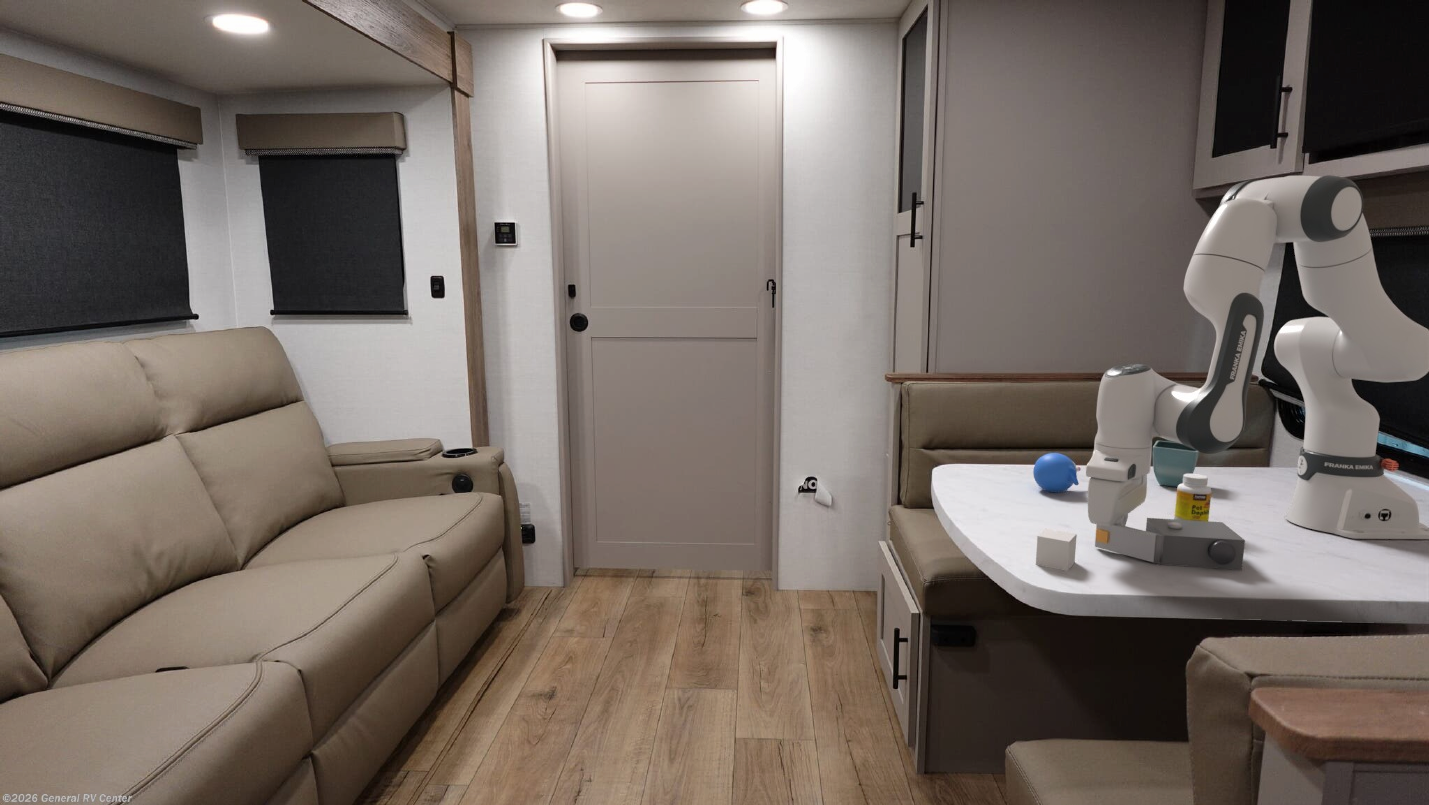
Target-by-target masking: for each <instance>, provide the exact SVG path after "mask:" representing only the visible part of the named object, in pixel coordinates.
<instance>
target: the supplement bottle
mask: <svg viewBox="0 0 1429 805" xmlns="http://www.w3.org/2000/svg"><path fill="white" fill-rule="evenodd" d="M1208 480H1209V478H1208V476H1207V475H1204V474H1198V473H1193V474H1184V475H1183V483H1182V484H1179V485H1178V487H1177V488H1176V498H1175V505H1174V506H1175V509H1174V516H1173V517H1174V519H1176V520H1193V521H1209V519H1210V518H1209V517H1210V510H1211V509H1210V507H1211V502H1212V501H1211V498H1212V489H1211V487H1209V486H1208V483H1209V482H1208Z"/></svg>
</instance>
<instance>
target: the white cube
mask: <svg viewBox="0 0 1429 805" xmlns="http://www.w3.org/2000/svg"><path fill="white" fill-rule="evenodd" d="M1036 537H1037V538H1036V540H1037V541H1036V552H1035V554H1036V555H1035V557H1036V558H1035V566H1041V567H1047V568H1051V569H1057V570H1063V571H1069V570H1070V568H1071V567H1072V566H1073V564H1075V561H1076V547H1077V546H1076V545H1077V537H1078V536H1077V533H1074V532H1068V531H1061V530H1057V529H1051V528H1044V530H1042V531H1041V532H1040V533H1038V535H1037V536H1036Z"/></svg>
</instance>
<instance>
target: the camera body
mask: <svg viewBox="0 0 1429 805" xmlns="http://www.w3.org/2000/svg"><path fill="white" fill-rule="evenodd" d="M1145 525H1146V527H1145V531H1147V532H1151V533H1156V534H1159V535H1162V548H1161V559H1160V563H1159V564H1160V565H1163V566H1165V565H1166V566H1175V567H1176V566H1180V567H1190V568H1191V567H1194V568H1207V569H1208V568H1209V569H1222V570H1223V569H1224V570H1234V571H1235V570H1237V571H1238V570H1239V571H1242V570H1243V560H1244V552H1245V543H1246V539H1244V538H1243V537H1241V536H1240V535H1239V534H1238V533H1236V531H1234V530H1233V529H1232V528H1230V527H1229V526H1227V525H1226V524H1225V523H1224V522H1223V521H1210V520H1208V521H1193V520H1176V519H1173V518H1154V517H1146V524H1145Z"/></svg>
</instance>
